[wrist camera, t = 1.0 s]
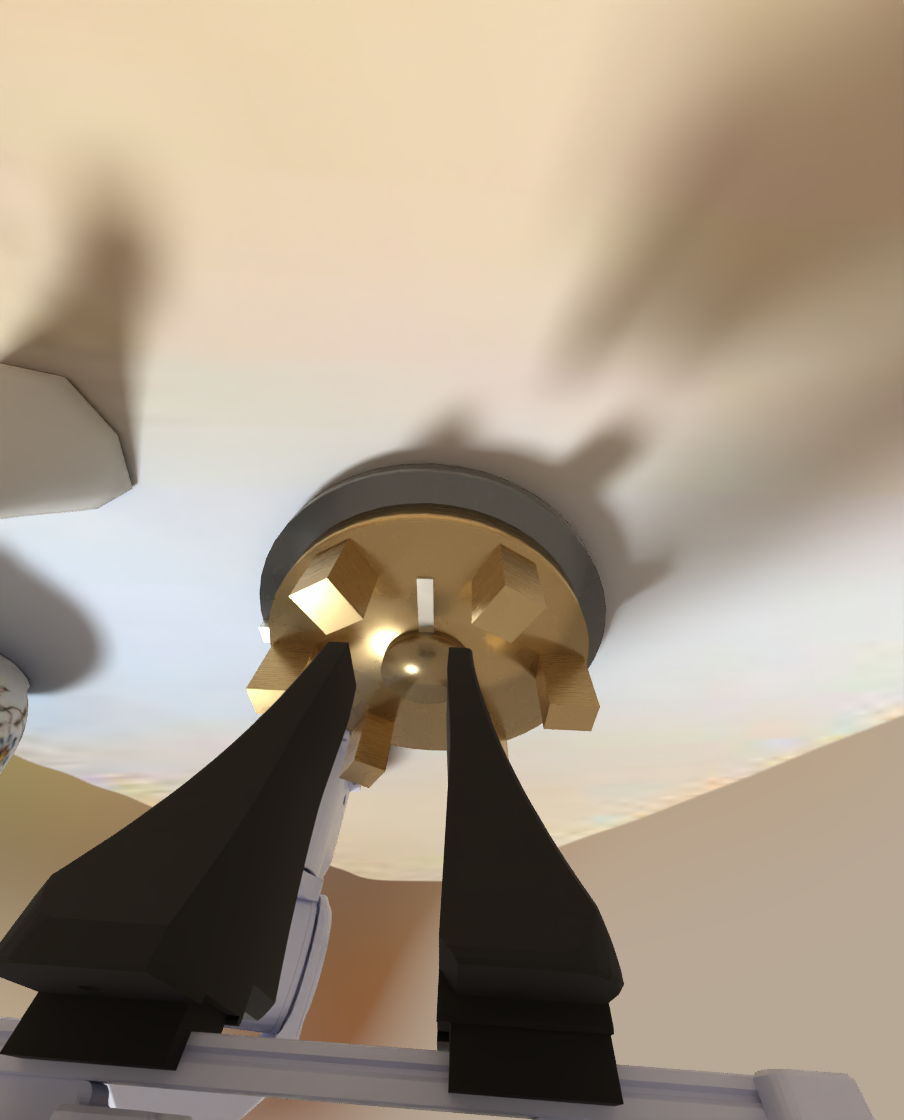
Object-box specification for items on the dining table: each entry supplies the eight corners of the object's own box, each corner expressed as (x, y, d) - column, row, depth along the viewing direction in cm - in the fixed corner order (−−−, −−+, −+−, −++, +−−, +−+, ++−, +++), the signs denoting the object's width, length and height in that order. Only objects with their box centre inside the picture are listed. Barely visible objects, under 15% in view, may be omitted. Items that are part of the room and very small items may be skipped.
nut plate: (566, 726, 30) (571, 749, 28) (304, 713, 31) (295, 734, 29) (643, 470, 19) (659, 485, 17) (224, 456, 19) (202, 469, 18)
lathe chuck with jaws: (553, 730, 28) (568, 807, 24) (313, 718, 29) (284, 790, 24) (613, 509, 18) (658, 570, 14) (247, 496, 19) (180, 551, 15)
